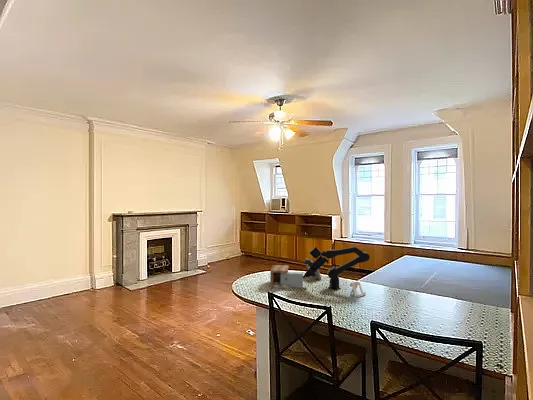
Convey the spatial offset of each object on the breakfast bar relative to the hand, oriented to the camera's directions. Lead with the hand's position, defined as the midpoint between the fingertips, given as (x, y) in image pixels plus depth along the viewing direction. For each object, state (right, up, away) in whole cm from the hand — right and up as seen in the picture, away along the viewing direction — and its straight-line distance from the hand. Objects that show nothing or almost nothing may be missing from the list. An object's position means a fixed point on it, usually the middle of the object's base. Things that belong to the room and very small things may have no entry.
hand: (303, 277), depth 230 cm
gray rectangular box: (-8, -7, +1) cm, 11 cm away
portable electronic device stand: (+34, -8, -18) cm, 39 cm away
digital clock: (+11, -7, +25) cm, 29 cm away
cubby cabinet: (-16, -7, +6) cm, 19 cm away
